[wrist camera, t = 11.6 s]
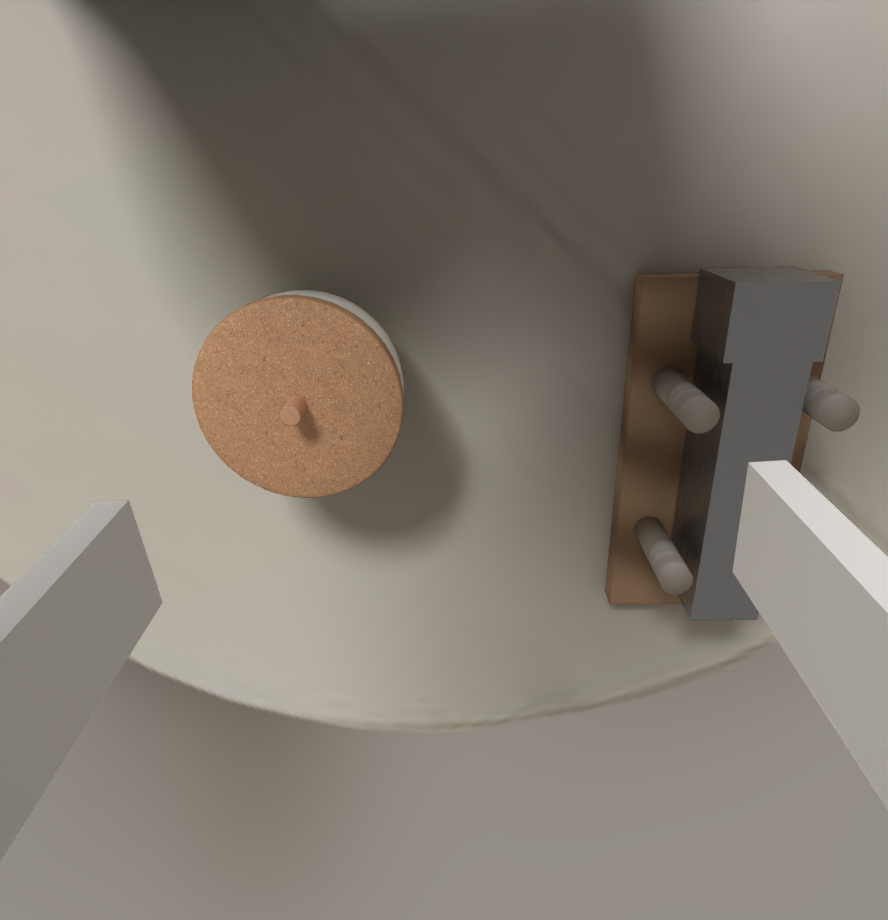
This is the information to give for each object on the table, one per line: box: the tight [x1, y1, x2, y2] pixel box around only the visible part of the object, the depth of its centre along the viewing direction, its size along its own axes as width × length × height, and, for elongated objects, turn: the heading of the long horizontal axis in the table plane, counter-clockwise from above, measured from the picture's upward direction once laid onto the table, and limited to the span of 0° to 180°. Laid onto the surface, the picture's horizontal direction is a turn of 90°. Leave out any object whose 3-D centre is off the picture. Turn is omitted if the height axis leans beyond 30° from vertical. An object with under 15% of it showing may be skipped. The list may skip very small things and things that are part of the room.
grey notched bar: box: [671, 266, 841, 620], centre depth 38 cm, size 20×5×5 cm, turn 1°
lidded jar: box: [192, 290, 404, 498], centre depth 36 cm, size 11×11×9 cm
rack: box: [605, 271, 860, 604], centre depth 38 cm, size 22×11×8 cm, turn 1°
